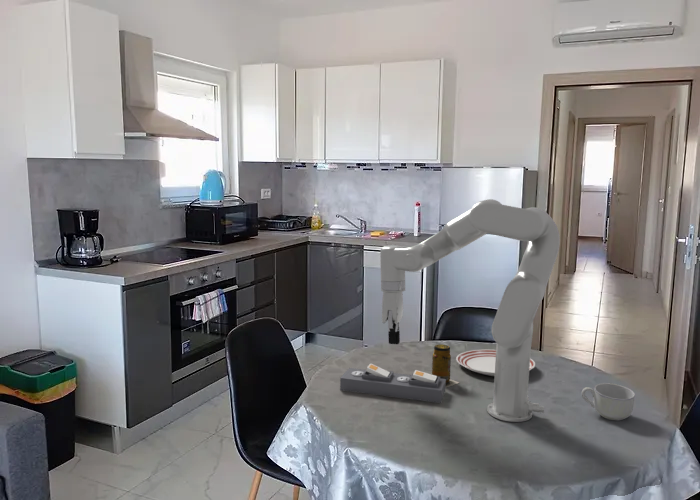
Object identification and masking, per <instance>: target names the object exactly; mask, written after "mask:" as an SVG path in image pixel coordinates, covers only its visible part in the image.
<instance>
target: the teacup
mask: <svg viewBox="0 0 700 500" xmlns="http://www.w3.org/2000/svg"><path fill="white" fill-rule="evenodd" d="M587 392H590V393H591V394H592V398H593V400H591V399H589V398H588V397H587V396H586V393H587ZM581 397H582V399H583V400H584V401H585V402H586V403H587V404H589V405H590V407H592V408H593V409H595V411H596V412H597V413H598V414H599V415H600V416H601V417H603V418H604V419H607V420H610V421H622V420H625V419H627V418H629V417H630V416H631V415H632V413H633V409H634V405H635V397H636V393H635V391H633V389H630V388H629V387H627V386H624V385H620V384H618V383H617V384H616V383H612V382H611V383H609V382H601V383H598V384H596V385H595V386H594V388H592V387H588V386H587V387H586V386H585V387H584V388H582V390H581Z"/></svg>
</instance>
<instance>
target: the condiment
mask: <svg viewBox="0 0 700 500" xmlns="http://www.w3.org/2000/svg"><path fill="white" fill-rule="evenodd" d="M451 360H452V355H451V347H450V346H449V345H447V344H443V343H442V344H435V345H434V347H433V354H432V363H431V374H432V375H435V376H437V377H440V378H441V379H446V388H448V387H451V386H455V385H457V384H459V383H460V382H459V381H456V380H453V379H451V362H452V361H451Z"/></svg>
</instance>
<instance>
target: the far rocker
mask: <svg viewBox="0 0 700 500" xmlns="http://www.w3.org/2000/svg"><path fill="white" fill-rule="evenodd" d="M365 370H366V371H367V372H369V373H371V374H373V375H376V376H382V377H388V376H389V374H390V372H388V371H389V370H387V369H384V368H382V367H380V366H379V365H378V366H377V365H376V364H373V363H369V365H367V367H366V369H365Z"/></svg>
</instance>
